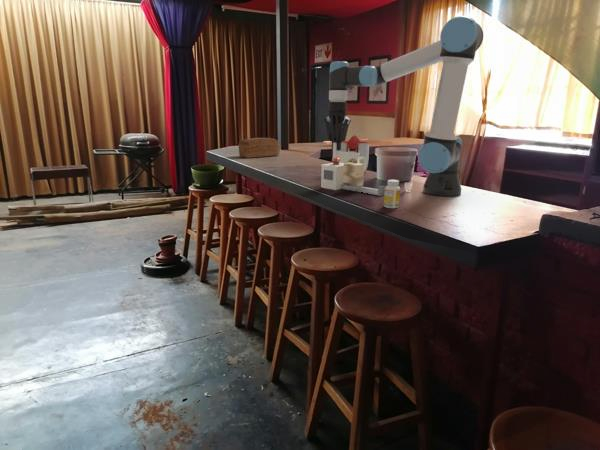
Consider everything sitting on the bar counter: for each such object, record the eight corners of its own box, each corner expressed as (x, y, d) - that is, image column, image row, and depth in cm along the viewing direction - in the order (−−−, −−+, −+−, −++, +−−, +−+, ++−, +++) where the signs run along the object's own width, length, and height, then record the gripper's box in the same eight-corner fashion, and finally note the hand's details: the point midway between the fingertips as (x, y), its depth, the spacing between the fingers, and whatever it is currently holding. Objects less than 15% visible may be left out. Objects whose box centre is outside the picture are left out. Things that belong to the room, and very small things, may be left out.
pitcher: (371, 181, 204) (373, 152, 200) (337, 184, 197) (338, 153, 193) (360, 177, 213) (361, 149, 210) (327, 180, 207) (328, 151, 203)
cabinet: (349, 186, 191) (350, 164, 188) (335, 190, 184) (335, 166, 181) (335, 184, 196) (335, 162, 193) (320, 187, 189) (321, 164, 186)
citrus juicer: (335, 176, 215) (336, 136, 210) (340, 171, 232) (341, 133, 226) (366, 178, 212) (368, 137, 206) (369, 172, 228) (371, 134, 222)
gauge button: (341, 175, 189) (342, 158, 187) (336, 175, 186) (336, 159, 184) (335, 174, 191) (335, 157, 189) (329, 175, 188) (330, 158, 186)
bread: (235, 156, 288) (235, 138, 284) (271, 154, 304) (271, 136, 300) (246, 159, 277) (245, 139, 274) (282, 156, 293) (282, 137, 290)
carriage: (363, 185, 183) (364, 164, 180) (356, 186, 179) (357, 165, 177) (350, 183, 187) (350, 162, 185) (342, 184, 184) (343, 163, 181)
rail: (384, 194, 176) (384, 186, 175) (379, 196, 173) (379, 187, 172) (345, 187, 189) (345, 179, 188) (340, 189, 186) (340, 180, 185)
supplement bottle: (386, 208, 153) (387, 182, 151) (382, 205, 158) (383, 179, 156) (401, 208, 154) (402, 181, 151) (396, 204, 159) (398, 179, 156)
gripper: (355, 101, 178) (353, 158, 185) (331, 101, 187) (329, 155, 193) (344, 101, 173) (342, 160, 180) (320, 101, 181) (319, 157, 188)
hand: (336, 157), depth 186 cm, fingers closed
